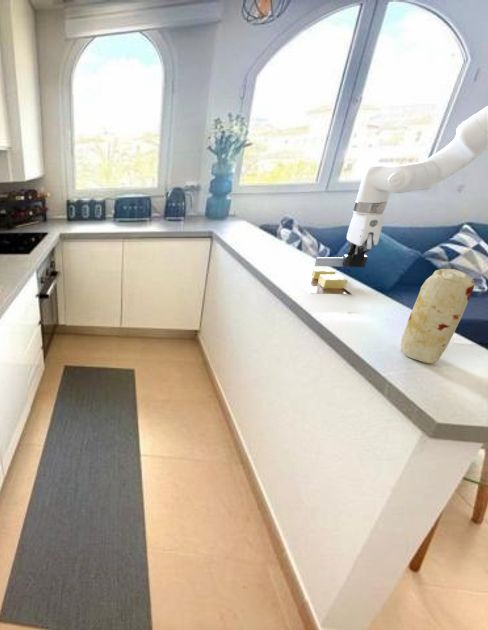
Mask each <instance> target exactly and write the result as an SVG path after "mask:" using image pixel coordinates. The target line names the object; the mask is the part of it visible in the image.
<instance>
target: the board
mask: <svg viewBox="0 0 488 630" xmlns="http://www.w3.org/2000/svg"><path fill="white" fill-rule="evenodd" d="M291 278H292V279H293V280H294V281H295V282H296V283H297V284H298V285H299V286H300V287H301V288H302V289H303V290H304V291H305V292H306V294H321V295H322V294H324V295H325V294H326V295H352V293H351V292H350V291H349V290H347V289H346V288H345V289H332V288H323V287H322V286H321V285H319V284H318V280H319V279H313V278H312V276H302V275H301V276H299V275H297V276H295V275H294V276H293V275H291Z"/></svg>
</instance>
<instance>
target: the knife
mask: <svg viewBox="0 0 488 630" xmlns="http://www.w3.org/2000/svg"><path fill="white" fill-rule="evenodd" d="M351 258H352V255H348V254H343V255H342V257H339V256H338V257H336V256H335V257H329V256H327V257H323V256H321V257H319V256H318V257H316V259H315V263H314V267H342V268H352V267H351V266H350V262H351ZM368 258H369V256H367V254H366V255H365V256H364V259H363V263H362V266H360V267H359V268H366V265H367V261H368Z"/></svg>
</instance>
